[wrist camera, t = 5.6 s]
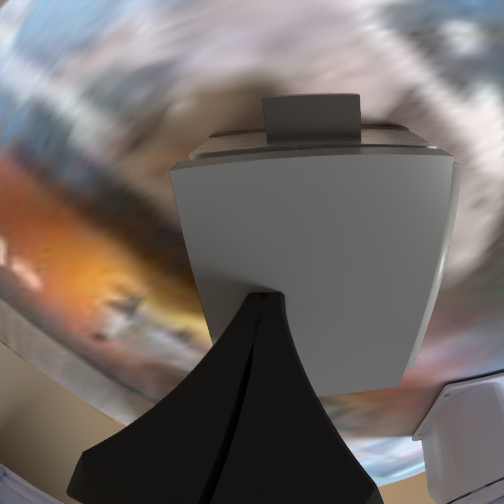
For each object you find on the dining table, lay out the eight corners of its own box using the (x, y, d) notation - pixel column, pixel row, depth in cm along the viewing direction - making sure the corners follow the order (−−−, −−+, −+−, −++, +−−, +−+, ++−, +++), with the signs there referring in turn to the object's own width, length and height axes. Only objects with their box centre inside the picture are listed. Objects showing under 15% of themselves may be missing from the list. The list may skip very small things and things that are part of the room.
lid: (408, 361, 13) (421, 400, 11) (233, 375, 14) (227, 418, 12) (455, 145, 8) (498, 169, 6) (182, 157, 9) (155, 184, 7)
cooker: (379, 339, 16) (388, 384, 13) (248, 342, 17) (239, 387, 15) (403, 93, 10) (438, 101, 7) (207, 100, 11) (178, 110, 8)
